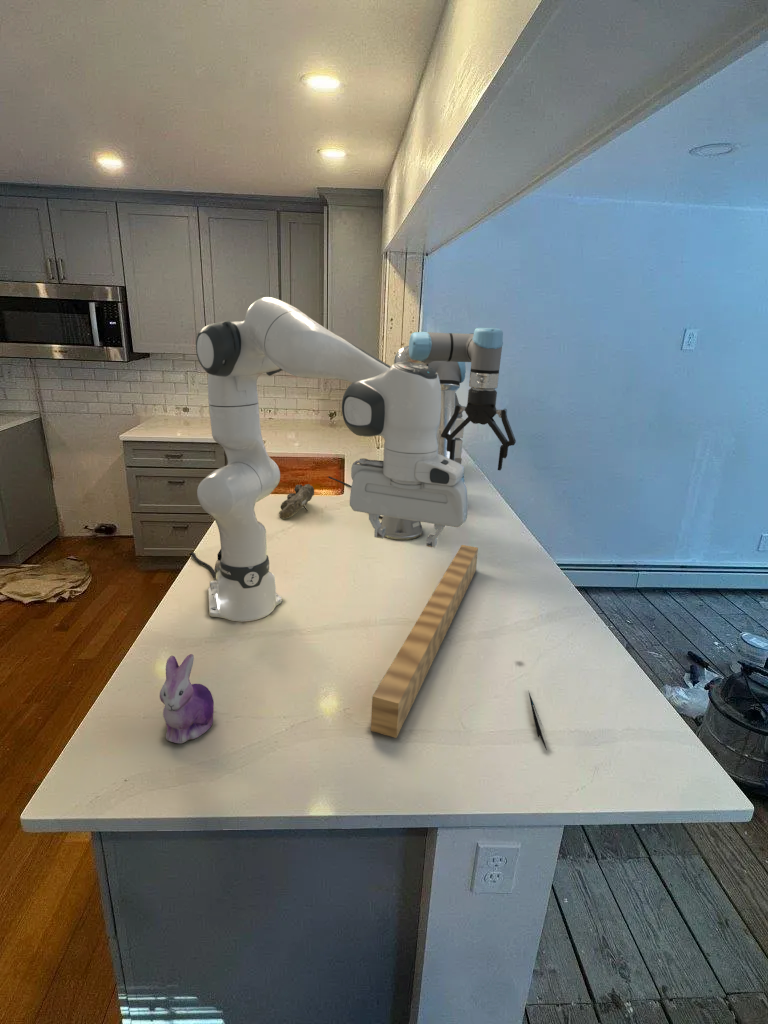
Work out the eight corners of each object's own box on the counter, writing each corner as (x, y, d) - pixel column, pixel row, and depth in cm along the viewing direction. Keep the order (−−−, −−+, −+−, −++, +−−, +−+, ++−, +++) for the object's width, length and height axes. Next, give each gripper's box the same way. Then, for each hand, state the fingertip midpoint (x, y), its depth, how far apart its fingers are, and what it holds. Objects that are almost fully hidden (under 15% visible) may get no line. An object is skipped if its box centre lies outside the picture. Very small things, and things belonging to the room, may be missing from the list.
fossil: (284, 490, 227) (312, 470, 222) (299, 508, 230) (327, 488, 225) (269, 514, 207) (299, 492, 202) (286, 533, 210) (316, 512, 205)
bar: (459, 567, 175) (461, 544, 173) (475, 570, 174) (478, 547, 171) (370, 730, 106) (372, 696, 104) (396, 738, 105) (398, 703, 102)
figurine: (167, 753, 99) (159, 681, 94) (159, 717, 107) (151, 649, 102) (222, 737, 103) (217, 667, 98) (210, 703, 111) (205, 637, 106)
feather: (520, 667, 129) (525, 661, 129) (546, 754, 103) (553, 747, 102) (514, 663, 129) (519, 657, 129) (538, 750, 103) (545, 742, 102)
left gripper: (344, 461, 94) (343, 538, 99) (466, 477, 88) (458, 558, 93) (358, 453, 100) (356, 526, 104) (473, 467, 94) (466, 544, 98)
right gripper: (433, 386, 151) (428, 463, 158) (529, 394, 144) (518, 475, 151) (440, 383, 158) (435, 457, 165) (532, 391, 150) (522, 468, 157)
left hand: (405, 541), depth 98 cm, fingers open, 8 cm apart
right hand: (475, 466), depth 158 cm, fingers open, 13 cm apart
